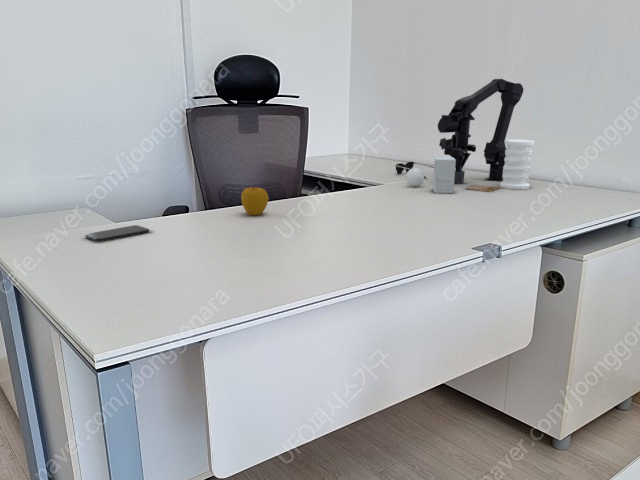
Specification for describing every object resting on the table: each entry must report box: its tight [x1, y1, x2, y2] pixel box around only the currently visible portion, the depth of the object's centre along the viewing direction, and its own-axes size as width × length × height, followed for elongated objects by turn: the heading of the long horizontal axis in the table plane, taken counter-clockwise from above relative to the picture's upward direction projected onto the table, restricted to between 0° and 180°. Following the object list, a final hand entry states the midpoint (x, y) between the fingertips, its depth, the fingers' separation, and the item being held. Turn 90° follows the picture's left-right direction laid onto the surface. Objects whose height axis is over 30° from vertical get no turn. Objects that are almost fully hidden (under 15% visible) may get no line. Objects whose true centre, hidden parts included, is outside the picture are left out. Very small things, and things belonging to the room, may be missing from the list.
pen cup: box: [454, 169, 465, 185], centre depth 246 cm, size 5×5×5 cm
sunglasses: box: [394, 161, 434, 180], centre depth 265 cm, size 14×16×5 cm
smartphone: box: [84, 224, 150, 242], centre depth 164 cm, size 8×1×16 cm
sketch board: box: [465, 184, 500, 193], centre depth 234 cm, size 10×10×1 cm
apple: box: [240, 186, 270, 217], centre depth 188 cm, size 9×8×9 cm
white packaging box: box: [432, 156, 456, 194], centre depth 226 cm, size 7×7×13 cm
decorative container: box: [499, 138, 535, 190], centre depth 235 cm, size 12×12×18 cm
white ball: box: [405, 167, 425, 187], centre depth 238 cm, size 10×7×7 cm
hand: (458, 171), depth 245 cm, fingers closed
